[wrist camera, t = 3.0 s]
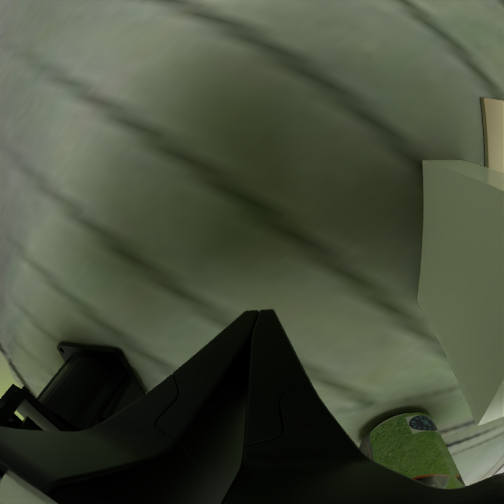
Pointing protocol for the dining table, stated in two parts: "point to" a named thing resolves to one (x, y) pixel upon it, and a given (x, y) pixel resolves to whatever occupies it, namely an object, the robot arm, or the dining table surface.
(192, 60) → the dining table surface
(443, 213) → the tile
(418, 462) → the beverage can
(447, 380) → the dining table surface
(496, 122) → the mat
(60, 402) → the robot arm
